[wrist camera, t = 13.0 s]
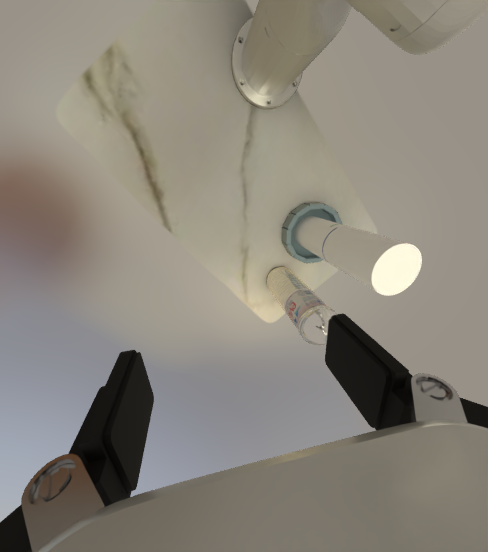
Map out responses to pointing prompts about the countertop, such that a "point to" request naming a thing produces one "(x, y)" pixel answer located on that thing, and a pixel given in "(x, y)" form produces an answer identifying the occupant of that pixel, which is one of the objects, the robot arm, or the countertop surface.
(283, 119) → the countertop surface
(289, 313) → the water bottle
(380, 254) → the cylindrical container
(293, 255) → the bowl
